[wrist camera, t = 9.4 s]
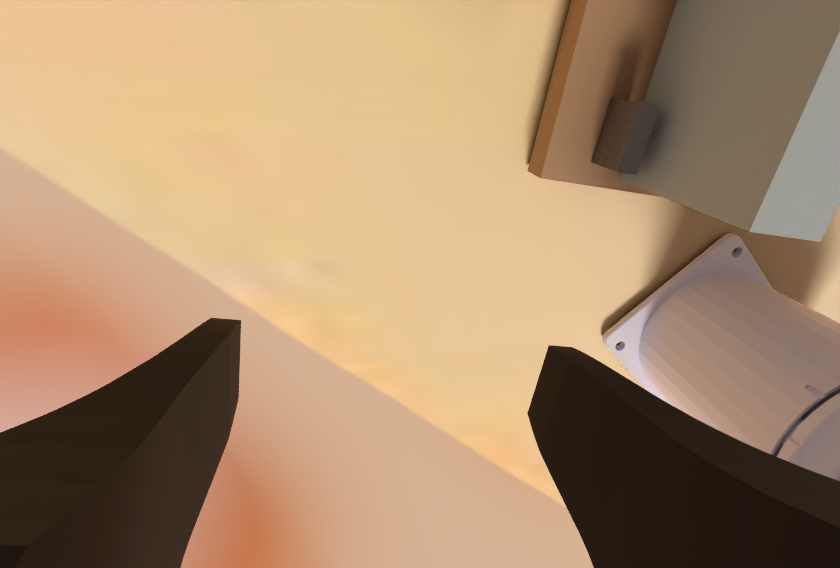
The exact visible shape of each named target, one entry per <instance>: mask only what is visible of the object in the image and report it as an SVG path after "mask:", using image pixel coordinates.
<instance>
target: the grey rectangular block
mask: <svg viewBox="0 0 840 568" xmlns="http://www.w3.org/2000/svg"><path fill="white" fill-rule="evenodd" d="M644 103H649V104H654V105H659V106H660V108H659V111H658V114H657V117H656V120H655V122H654V125H653V128H652V131H651V134H650V137H649V140H648V143H647V146H646V149H645V152H644V155H643V158H642V161H641V163H640V166H639V169H638V172H637V175H632V174H625V173H620V176H619V179H620V180H622V181H624V182H627V183H629V184H632V185H634V186H637V187H639V188H642V189H644V190H647V191H649V192H652V193H654V194H657V195H659V196H662V197H664V198H667V199H669V200H672V201H674V202H677V203H679V204H681V205H684V206H686V207H689V208H691V209H694V210H696V211H699V212H701V213H704V214H706V215H709V216H711V217H714V218H716V219H719V220H721V221H724V222H726V223H729V224H731V225H734V226H736V227H739V228H741V229H743V230H746V231H748V232H754V233H761V234H768V235H775V236H782V237H789V238H796V239H803V240H810V241H817V242H821V240H822V238H823V236H824V234H825V232H826V230H827V228H828V226H829V224H830V222H831V220H832V218H833V216H834V214H835V212H836V210H837V209H838V207H839V205H840V0H677V2H676V5H675V8H674V11H673V15H672V18H671V21H670V24H669V27H668V30H667V33H666V36H665V39H664V42H663V45H662V48H661V51H660V54H659V57H658V60H657V63H656V66H655V70H654V73H653V76H652V79H651V82H650V85H649V88H648V91H647V94H646V97H645V100H644Z"/></svg>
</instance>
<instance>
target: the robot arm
mask: <svg viewBox="0 0 840 568" xmlns="http://www.w3.org/2000/svg"><path fill="white" fill-rule="evenodd" d="M735 248H736V251H735V252H734V253H733V254H732V252H733V250H734V249H735ZM240 333H241V320H229V319H217V318H210V319H209V320H207V321H206V322H204V323H203V324H201V325H200V326H198V327H197V328H195V329H194V330H193V331H191V332H190V333H188V334H187V335H185V336H184V337H183V338H181V339H180V340H178V341H177V342H175V343H174V344H172V345H171V346H169V347H168V348H166V349H165V350H163V351H162V352H160V353H159V354H158V355H156V356H154V357H153V358H151V359H150V360H148V361H146V362H144V363H143V364H141V365H139V366H138V367H136V368H134V369H133V370H131V371H129V372H128V373H126V374H124V375H123V376H121V377H119V378H117V379H116V380H114V381H112V382H111V383H109V384H107V385H105V386H104V387H101V388H100V389H98V390H96V391H94V392H92V393H90V394H88V395H86V396H84V397H82V398H80V399H78V400H76V401H74V402H72V403H69V404H67V405H65V406H63V407H61V408H59V409H57V410H55V411H52V412H50V413H48V414H46V415H43V416H41V417H38V418H36V419H33V420H31V421H28V422H26V423H24V424H21V425H19V426H16V427H14V428H11V429H9V430H6V431H4V432H1V433H0V568H180V567H181V563H182V560H183V557H184V554H185V551H186V548H187V545H188V542H189V539H190V536H191V534H192V531H193V528H194V526H195V523H196V521H197V518H198V516H199V513H200V511H201V508H202V506H203V503H204V500H205V498H206V495H207V493H208V490H209V488H210V485H211V483H212V480H213V477H214V475H215V473H216V470H217V467H218V464H219V462H220V460H221V457H222V454H223V452H224V449H225V447H226V444H227V441H228V439H229V435H230V431H231V427H232V423H233V419H234V414H235V410H236V406H237V402H238V395H239V393H238V392H239V364H240ZM603 342H604V344H605V345H606V346H607V347H608V348H609V349H610V350H611V352H612V353H613V354H614V355H615V356H616V357H617V358H618V359H619V360H620V361H621V362H622V364H623V365H624V366H625V367H626V368H627V369H628V370H629V371H630V372H631V373H632V374H633V376H634V377H635V378H636V379H637V380H638V381H639V382H640V383H641V384H642V385H643V386H644V388H645V389H646V390H645V389H643V388H642V387H640V386H638V385H637V384H635V383H633V382H632V381H630V380H629V379H627V378H625V377H624V376H622V375H620V374H619V373H617V372H616V371H614V370H612V369H611V368H609V367H607V366H606V365H604V364H602V363H601V362H599V361H597V360H596V359H594V358H592V357H590V356H589V355H587V354H585V353H583V352H581V351H579V350H577V349H574V348H572V347H561V346H549V347H548V350H547V353H546V357H545V360H544V363H543V366H542V369H541V373H540V376H539V379H538V382H537V385H536V388H535V392H534V395H533V398H532V401H531V404H530V407H529V411H528V416H529V420H530V423H531V426H532V430H533V433H534V436H535V439H536V442H537V445H538V448H539V451H540V453H541V455H542V457H543V459H544V461H545V463H546V466H547V468H548V470H549V472H550V474H551V476H552V478H553V480H554V482H555V484H556V486H557V488H558V490H559V492H560V494H561V496H562V498H563V501H564V503H565V505H566V507H567V509H568V511H569V513H570V515H571V516H572V519H573V521H574V523H575V525H576V527H577V529H578V531H579V533H580V535H581V537H582V540H583V542H584V544H585V547H586V548H587V551H588V553H589V556H590V559H591V561H592V564H593V566H594V568H840V323H838V322H836V321H834V320H832V319H830V318H828V317H826V316H824V315H822V314H820V313H819V312H817V311H815V310H813V309H811V308H809V307H807V306H805V305H803V304H801V303H799V302H797V301H795V300H793V299H791V298H789V297H787V296H785V295H784V294H782V293H780V292H778V291H776V290H774V289H773V288H772V286H771V285H770V283H769V282H768V280H767V278H766V277H765V275H764V274H763V272H762V271H761V269H760V267H759V266H758V264H757V263H756V261H755V260H754V258H753V256H752V255H751V253H750V252H749V250H748V248H747V247H746V245H745V244H744V242H743V241H742V239H741V238H740V237H739V236H738V235H735V234H732V233H729V234H726V235H724V236H722V237H721V238H720V239H719V240H718V241H716V242H715V243H714V244H713V245H711V246H710V247H709V248H708V249H707V250H705V251H704V252H703V253H702V254H700V255H699V256H698V257H697V258H695V259H694V260H693V261H692V262H691V263H689V264H688V265H687V266H686V267H684V268H683V269H682V270H681V271H680V272H678V273H677V274H676V275H675V276H673V277H672V278H671V279H670V280H669V281H667V282H666V283H665V284H664V285H662V286H661V287H660V288H659V289H658V290H656V291H655V292H654V293H653V294H651V295H650V296H649V297H648V298H646V299H645V300H644V301H643V302H642V303H640V304H639V305H638V306H637V307H635V308H634V309H633V310H632V311H631V312H629V313H628V314H627V315H626V316H624V317H623V318H622V319H621V320H620V321H618V322H617V323H616V324H615V325H613V326H612V327H611V328H610V329H608V330H607V331H606V332H605V333H604V335H603ZM619 342H621V343H620V345H618V346H616V344H617V343H619Z"/></svg>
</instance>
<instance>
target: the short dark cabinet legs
mask: <svg viewBox="0 0 840 568" xmlns="http://www.w3.org/2000/svg"><path fill="white" fill-rule="evenodd" d="M659 108H660V106H659V105H654V104H649V103H644V102H638V101H629V100H620V99H611V98H610V101H609V105H608V108H607V111H606V114H605V118H604V121H603V124H602V128H601V131H600V134H599V138H598V141H597V144H596V148H595V151H594V154H593V157H592V161H591V162H592V163H594V164H597V165H599V166H602V167H605V168H607V169H610V170H613V171H615V172H619V173H625V174H632V175H637V172H638V169H639V166H640V163H641V161H642V158H643V155H644V152H645V149H646V146H647V143H648V140H649V137H650V134H651V131H652V128H653V125H654V122H655V120H656V117H657V114H658V111H659Z"/></svg>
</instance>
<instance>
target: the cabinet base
mask: <svg viewBox="0 0 840 568" xmlns="http://www.w3.org/2000/svg"><path fill="white" fill-rule="evenodd" d="M676 2H677V0H571V2H570V6H569V10H568V14H567V18H566V22H565V26H564V30H563V34H562V38H561V42H560V46H559V50H558V53H557V57H556V61H555V65H554V69H553V73H552V77H551V81H550V85H549V89H548V93H547V97H546V101H545V105H544V108H543V112H542V116H541V120H540V124H539V128H538V132H537V136H536V140H535V144H534V148H533V152H532V156H531V160H530V164H529V167H528V171H529V172H531V173H533V174H534V175H536V176H538V177H540V178H544V179H550V180H557V181H563V182H570V183H576V184H583V185H589V186H596V187H602V188H609V189H615V190H622V191H628V192H634V193H641V194H647V195H654V196H659V195H657V194H654V193H652V192H649V191H647V190H644V189H642V188H639V187H637V186H634V185H632V184H629V183H627V182H624V181H622V180H620V179H619V176H620V173H619V172H615V171H613V170H610V169H607V168H605V167H602V166H599V165H597V164H594V163H592V162H591V161H592V157H593V154H594V151H595V148H596V144H597V141H598V138H599V134H600V131H601V128H602V124H603V121H604V118H605V114H606V111H607V108H608V105H609V101H610V98H611V99H620V100H629V101H638V102H644V100H645V97H646V94H647V91H648V88H649V85H650V82H651V79H652V76H653V73H654V70H655V66H656V63H657V60H658V57H659V54H660V51H661V48H662V45H663V42H664V39H665V36H666V33H667V30H668V27H669V24H670V21H671V18H672V15H673V11H674V8H675V5H676ZM660 197H662V196H660Z"/></svg>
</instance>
